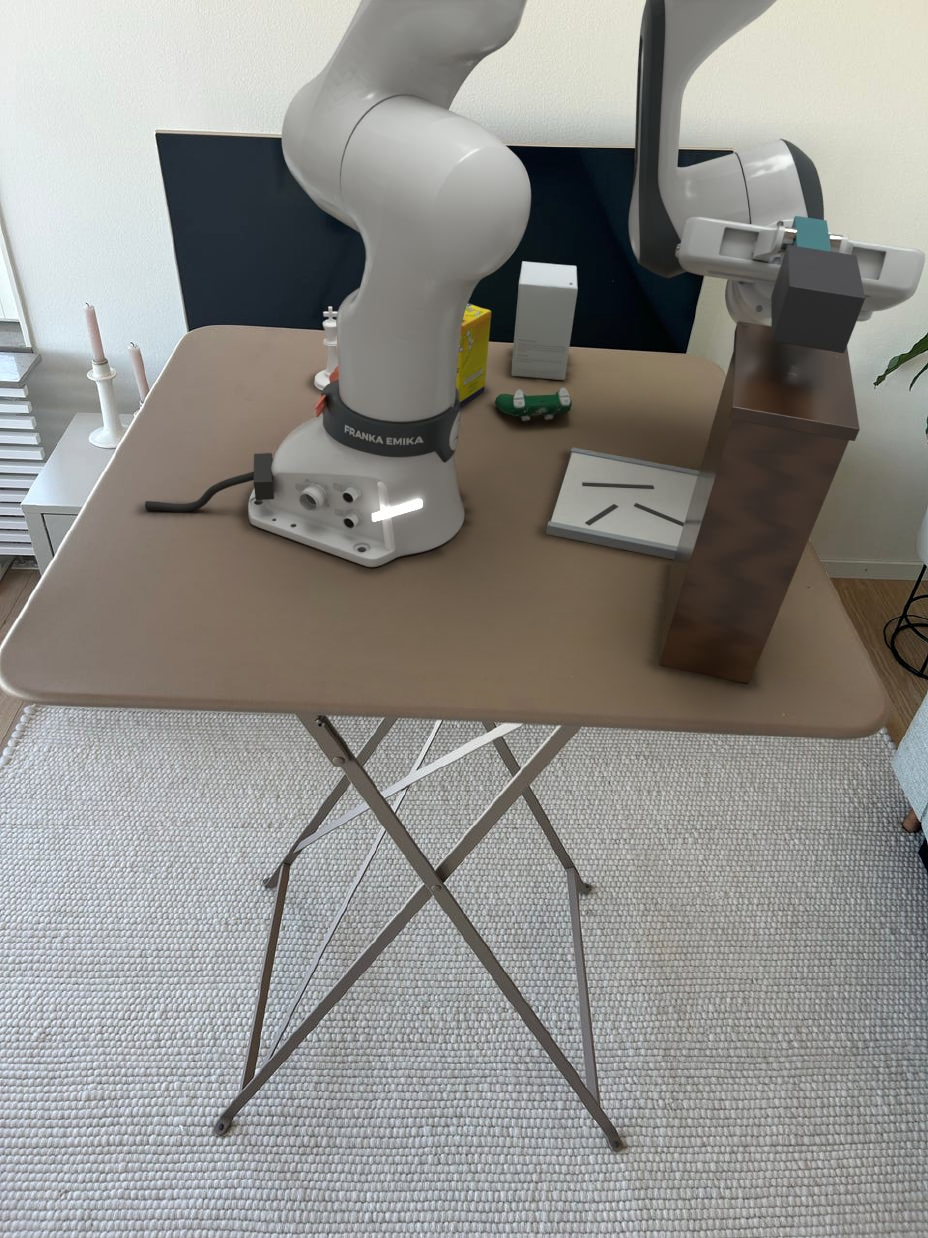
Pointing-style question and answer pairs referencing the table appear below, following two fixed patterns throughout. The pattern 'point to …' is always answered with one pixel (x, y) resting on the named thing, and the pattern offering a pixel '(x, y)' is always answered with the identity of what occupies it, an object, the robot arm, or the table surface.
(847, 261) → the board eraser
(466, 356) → the supplement box
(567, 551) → the table surface
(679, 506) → the whiteboard
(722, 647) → the walnut pedestal
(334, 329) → the chess piece
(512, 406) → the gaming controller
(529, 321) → the white packaging box
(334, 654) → the table surface
